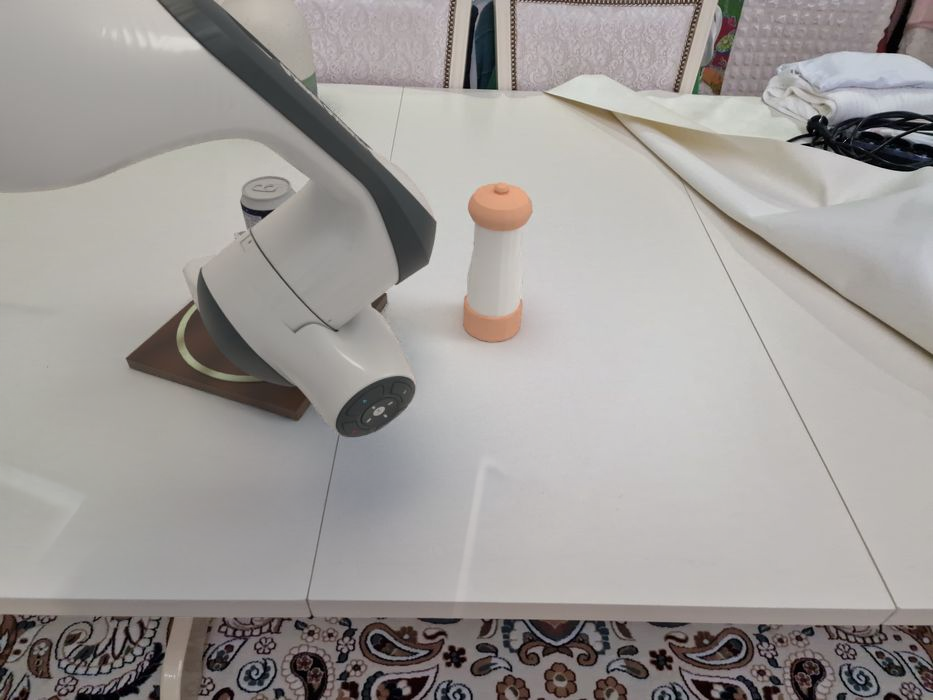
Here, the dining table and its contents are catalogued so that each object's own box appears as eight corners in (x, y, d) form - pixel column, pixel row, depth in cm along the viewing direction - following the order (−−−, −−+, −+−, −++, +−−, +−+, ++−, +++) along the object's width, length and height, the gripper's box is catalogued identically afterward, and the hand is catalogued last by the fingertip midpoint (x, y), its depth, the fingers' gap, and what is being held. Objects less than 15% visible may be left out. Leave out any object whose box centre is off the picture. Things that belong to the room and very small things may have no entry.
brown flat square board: (129, 367, 70) (124, 356, 69) (244, 265, 85) (241, 255, 84) (298, 421, 65) (295, 410, 64) (387, 302, 80) (387, 291, 79)
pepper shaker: (504, 349, 74) (518, 208, 61) (452, 329, 77) (454, 189, 64) (529, 317, 79) (547, 179, 66) (479, 298, 81) (487, 162, 68)
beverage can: (301, 300, 68) (282, 203, 60) (253, 294, 69) (227, 197, 61) (319, 271, 72) (303, 176, 64) (273, 266, 73) (251, 171, 65)
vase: (332, 105, 129) (316, -27, 112) (304, 138, 116) (282, -4, 100) (254, 99, 130) (228, -32, 114) (219, 131, 118) (184, -11, 102)
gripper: (413, 244, 59) (361, 183, 68) (193, 302, 52) (166, 226, 61) (415, 296, 64) (366, 232, 72) (212, 357, 56) (184, 278, 65)
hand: (273, 229), depth 67 cm, fingers closed on beverage can, 5 cm apart
